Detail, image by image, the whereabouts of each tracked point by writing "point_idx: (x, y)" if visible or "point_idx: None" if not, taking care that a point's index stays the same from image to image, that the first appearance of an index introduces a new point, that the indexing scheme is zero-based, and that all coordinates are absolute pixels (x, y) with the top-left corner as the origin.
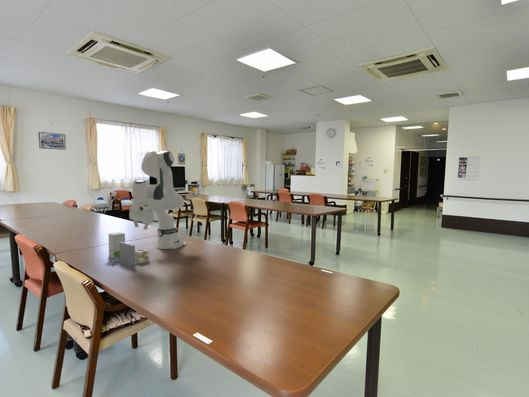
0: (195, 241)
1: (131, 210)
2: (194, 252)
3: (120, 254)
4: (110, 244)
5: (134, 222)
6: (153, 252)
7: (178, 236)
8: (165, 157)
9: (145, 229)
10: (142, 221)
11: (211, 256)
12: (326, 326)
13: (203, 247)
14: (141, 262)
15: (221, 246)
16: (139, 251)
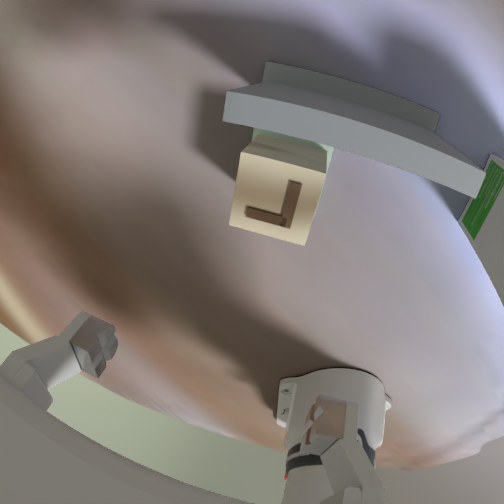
0: (275, 440)
1: None
2: (168, 354)
3: (433, 135)
4: None
5: (354, 471)
6: (341, 322)
7: (285, 443)
8: None
9: (84, 313)
10: (18, 405)
11: None
12: None
13: (193, 399)
14: (252, 139)
15: (157, 406)
16: (271, 178)
